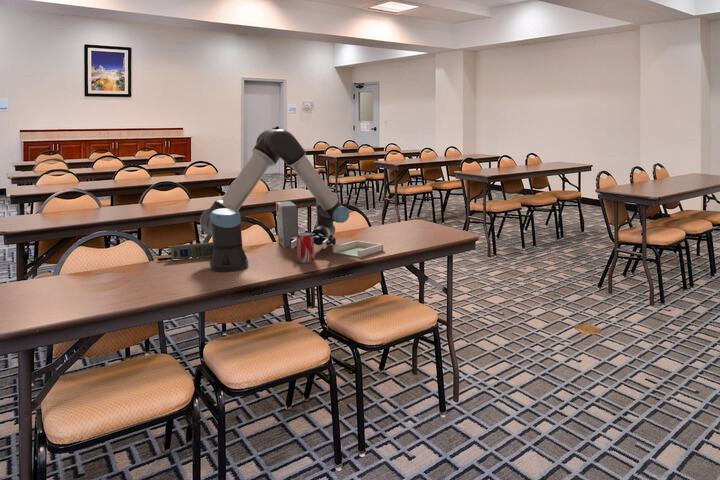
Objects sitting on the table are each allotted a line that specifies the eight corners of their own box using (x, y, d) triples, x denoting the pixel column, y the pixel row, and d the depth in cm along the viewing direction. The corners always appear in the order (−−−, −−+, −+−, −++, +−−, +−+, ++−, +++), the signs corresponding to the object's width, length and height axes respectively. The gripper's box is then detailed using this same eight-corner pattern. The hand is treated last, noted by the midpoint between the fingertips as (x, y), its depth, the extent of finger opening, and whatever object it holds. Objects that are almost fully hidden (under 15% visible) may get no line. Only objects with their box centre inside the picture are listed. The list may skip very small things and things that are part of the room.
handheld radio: (217, 257, 251) (158, 263, 243) (216, 256, 254) (158, 262, 246) (216, 242, 250) (156, 248, 242) (215, 241, 253) (156, 246, 245)
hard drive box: (277, 242, 279) (275, 201, 275) (293, 240, 281) (291, 200, 277) (283, 248, 264) (280, 205, 260) (299, 246, 266) (297, 204, 263)
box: (359, 257, 240) (359, 250, 239) (332, 253, 250) (332, 246, 250) (383, 250, 252) (383, 244, 251) (356, 246, 262) (356, 240, 261)
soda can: (311, 264, 232) (310, 235, 229) (295, 263, 233) (293, 235, 231) (316, 260, 238) (315, 232, 236) (300, 259, 240) (299, 232, 237)
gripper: (347, 243, 255) (337, 254, 234) (294, 243, 259) (279, 253, 239) (347, 227, 253) (336, 236, 233) (293, 227, 258) (278, 236, 237)
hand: (307, 245), depth 236 cm, fingers open, 13 cm apart
